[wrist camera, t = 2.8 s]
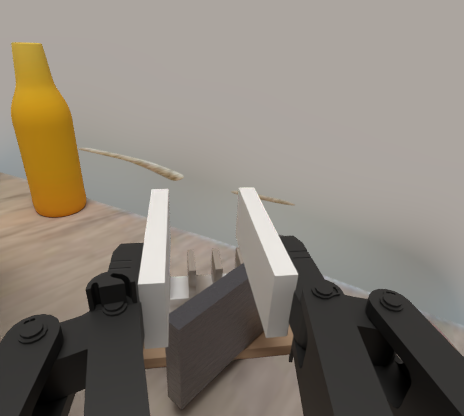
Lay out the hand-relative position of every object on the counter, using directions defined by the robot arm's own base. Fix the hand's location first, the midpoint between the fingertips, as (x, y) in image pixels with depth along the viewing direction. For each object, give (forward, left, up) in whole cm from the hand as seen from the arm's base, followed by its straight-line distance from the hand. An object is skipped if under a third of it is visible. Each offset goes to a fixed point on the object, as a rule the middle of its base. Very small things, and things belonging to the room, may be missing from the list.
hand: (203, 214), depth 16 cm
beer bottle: (-51, +17, -24) cm, 59 cm away
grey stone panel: (-4, +8, -22) cm, 24 cm away
